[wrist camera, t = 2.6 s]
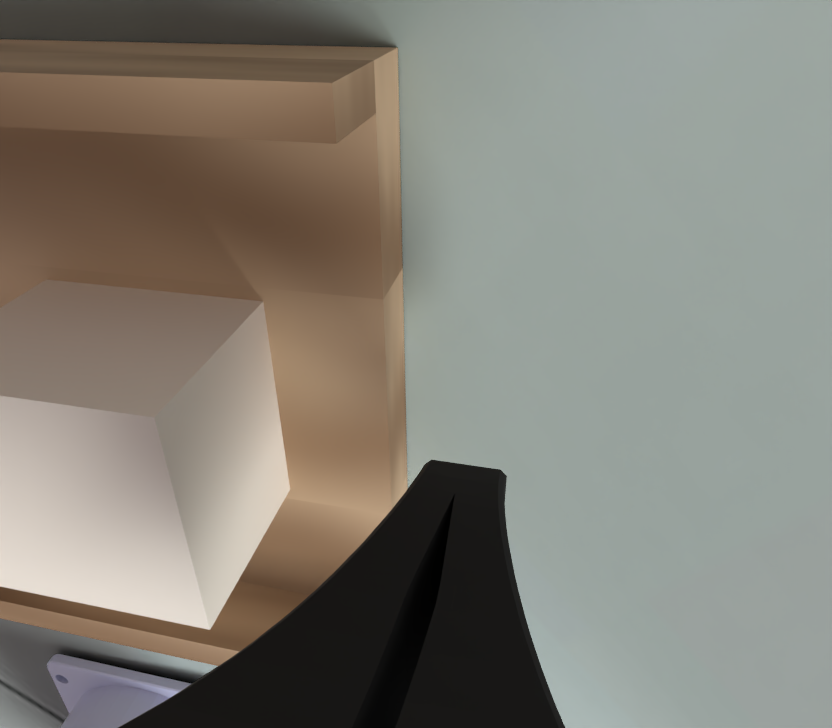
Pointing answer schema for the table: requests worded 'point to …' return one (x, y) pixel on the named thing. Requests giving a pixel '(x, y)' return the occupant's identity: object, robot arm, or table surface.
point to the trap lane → (229, 266)
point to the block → (136, 447)
